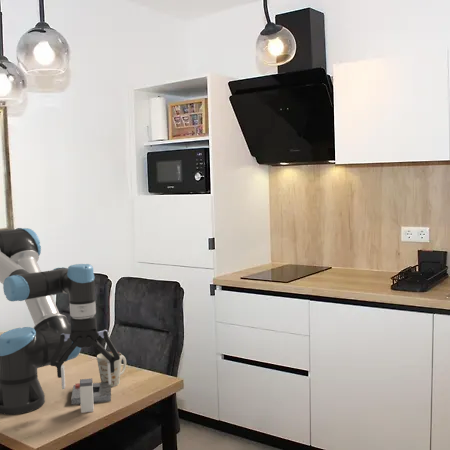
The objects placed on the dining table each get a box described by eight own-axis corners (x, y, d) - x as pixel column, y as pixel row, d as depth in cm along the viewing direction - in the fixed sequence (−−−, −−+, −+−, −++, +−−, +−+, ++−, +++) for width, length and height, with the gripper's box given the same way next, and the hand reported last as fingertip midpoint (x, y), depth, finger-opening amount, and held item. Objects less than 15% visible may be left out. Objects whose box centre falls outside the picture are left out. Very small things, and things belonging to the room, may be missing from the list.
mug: (92, 386, 196) (91, 357, 195) (116, 374, 207) (115, 346, 206) (112, 389, 192) (111, 360, 191) (135, 377, 203) (134, 349, 202)
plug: (81, 412, 174) (79, 383, 173) (81, 408, 177) (80, 379, 177) (93, 411, 175) (92, 382, 174) (93, 406, 178) (92, 378, 177)
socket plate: (71, 404, 180) (71, 396, 180) (73, 391, 192) (73, 383, 191) (110, 401, 182) (110, 393, 182) (110, 387, 194) (110, 380, 194)
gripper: (38, 322, 167) (42, 394, 169) (125, 315, 172) (129, 385, 174) (41, 316, 175) (45, 385, 176) (125, 310, 179) (128, 377, 181)
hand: (86, 385), depth 175 cm, fingers open, 13 cm apart
